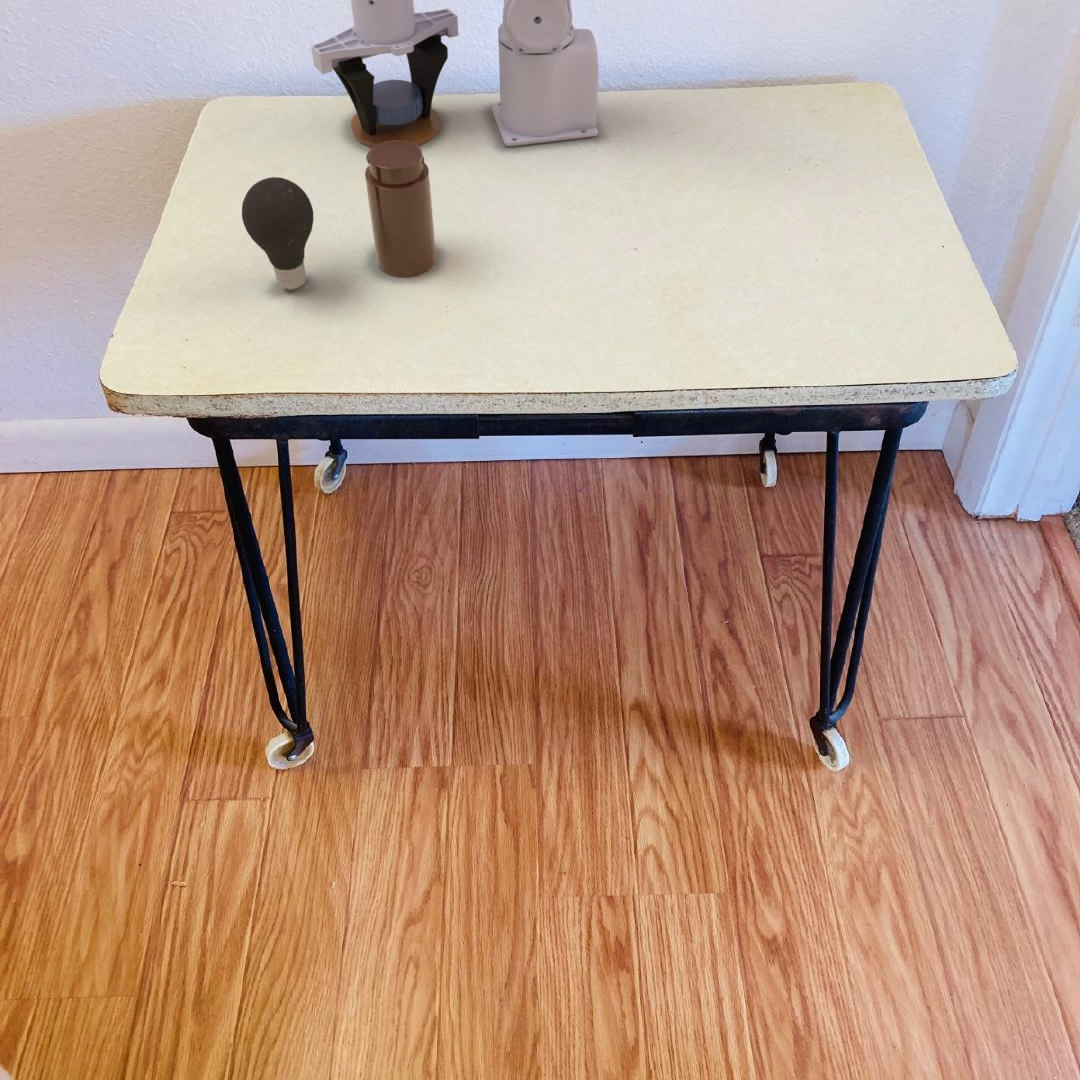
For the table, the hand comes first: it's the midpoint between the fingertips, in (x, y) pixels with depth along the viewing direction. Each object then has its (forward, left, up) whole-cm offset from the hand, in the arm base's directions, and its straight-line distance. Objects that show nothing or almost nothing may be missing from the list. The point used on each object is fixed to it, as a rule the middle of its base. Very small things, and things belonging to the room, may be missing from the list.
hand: (395, 122), depth 109 cm
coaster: (0, 0, 0) cm, 0 cm away
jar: (+2, +23, 0) cm, 23 cm away
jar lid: (0, 0, +3) cm, 3 cm away
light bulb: (+12, +24, -1) cm, 27 cm away
